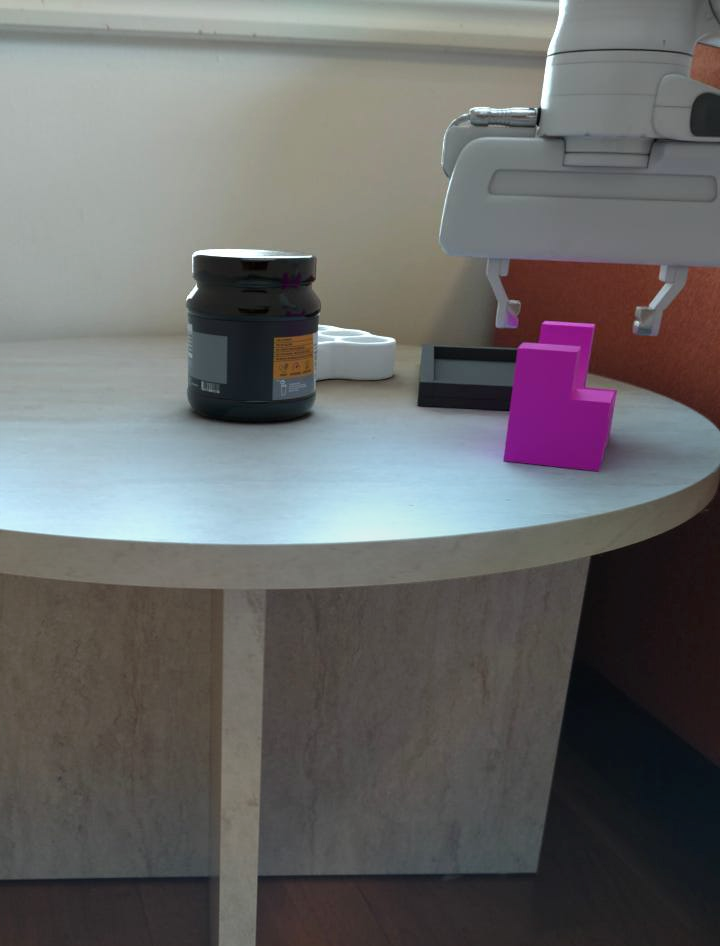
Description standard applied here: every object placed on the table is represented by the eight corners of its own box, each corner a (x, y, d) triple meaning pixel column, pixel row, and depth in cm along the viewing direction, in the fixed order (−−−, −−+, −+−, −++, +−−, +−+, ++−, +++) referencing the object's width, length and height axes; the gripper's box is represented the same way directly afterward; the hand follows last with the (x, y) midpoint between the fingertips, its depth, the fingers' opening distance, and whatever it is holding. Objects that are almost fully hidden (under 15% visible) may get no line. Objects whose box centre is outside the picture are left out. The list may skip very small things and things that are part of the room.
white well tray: (190, 363, 103) (290, 349, 112) (322, 390, 91) (422, 372, 100) (190, 328, 101) (292, 317, 111) (324, 351, 90) (426, 337, 99)
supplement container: (342, 412, 83) (351, 255, 78) (251, 431, 76) (255, 260, 71) (251, 392, 90) (254, 246, 85) (159, 408, 83) (157, 251, 78)
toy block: (599, 471, 67) (618, 355, 64) (503, 460, 70) (517, 347, 66) (612, 425, 80) (629, 326, 77) (531, 417, 82) (544, 320, 79)
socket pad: (534, 369, 103) (537, 348, 102) (556, 413, 84) (560, 388, 83) (420, 363, 105) (422, 343, 104) (417, 405, 86) (419, 381, 85)
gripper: (447, 103, 64) (424, 329, 70) (790, 110, 61) (737, 345, 67) (446, 109, 70) (425, 317, 76) (760, 115, 67) (714, 332, 73)
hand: (574, 331), depth 72 cm, fingers open, 8 cm apart
